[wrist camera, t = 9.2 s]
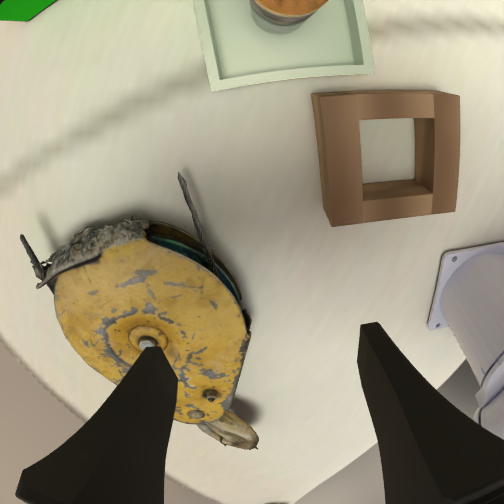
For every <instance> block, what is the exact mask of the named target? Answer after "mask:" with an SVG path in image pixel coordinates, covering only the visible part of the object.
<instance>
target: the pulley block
mask: <svg viewBox="0 0 504 504" xmlns="http://www.w3.org/2000/svg"><path fill="white" fill-rule="evenodd" d="M178 179H179V182H180V185H181V188H182V190H183V193H184V197H185V200H186V203H187V205H188V207H189V209H190V211H191V213H192V218H193V222H194V225H195V231H196V234H197V237H198V239H199V240H198V239H197V238H195V237H193V236H191V235H190V234H188V233H186V232H185V231H183V230H180V229H178V228H175V227H172V226H170V225H167V224H165V223H159V222H151V221H148V220H144V219H139V220H133V216H130V217H129V218H128V219H124V220H125V221H119V222H118V223H117V224H115V225H110V226H107V225H104V226H103V228H94V227H90V228H85V230H84V231H83V232H82V233H78V234H75V236H74V238H73V239H72V241H71V242H70V243H68V244H66V245H64V246H62V247H61V248H60V249H59V251H57V252H55V253H54V254H52V255H51V256H50V258H49V259H48V260H46V262H44V261H43V262H41V263H40V262H39V261H38V259H37V257H36V256H35V254H34V252H33V250H32V249H31V247H30V246H29V244H28V242H27V241H26V239H25V237H24V235H22V234H21V235H20V239H21V241H22V243H23V245H24V247H25V249H26V252H27V254H28V256H29V257H30V259H31V261H30V262H31V263H32V264H33V266H32V267H33V269H34V272H35V274H36V277H37V278H39V279H41V280H42V282H41V283H38V284H37V286H36V288H37V289H39V288H41V287H42V286H44V285H45V284H47V286H48V287H49V288H50V290H51V291H52V293H53V294H54V303H55V311H56V316H57V319H58V321H59V324H60V326H61V328H62V330H63V332H64V335H65V337H66V339H67V340H68V341H69V343H70V344H71V346H72V347H73V348H74V350H75V351H76V352H77V353H78V354H79V355H80V356H81V357H82V358H83V359H84V361H85V362H86V363H87V364H88V365H89V366H90V367H92V368H93V369H94V370H96V371H97V372H99V373H100V374H101V375H103V376H104V377H106V378H107V379H108V380H110V381H111V382H113V383H114V384H116V385H117V386H118V384H119V383H120V382H121V380H122V379H123V378H124V376H125V375H126V373H127V372H128V371H129V369H130V368H131V367H132V365H133V364H134V362H135V361H136V360H137V358H138V357H139V356H140V354H141V353H142V352H143V350H144V349H145V348H146V347H152V346H161V348H162V350H163V352H164V354H165V356H166V357H167V359H168V361H169V363H170V365H171V367H172V368H173V370H174V372H175V374H176V376H177V377H178V391H177V403H176V408H175V413H174V418H173V420H176V421H179V422H182V423H186V424H196V425H197V426H198V427H199V428H200V429H201V430H202V431H203V432H205V433H206V434H208V435H209V436H211V437H213V438H215V439H216V440H218V441H220V442H221V443H222V444H224V446H226V445H230V446H234V447H237V448H241V449H249V450H251V449H253V448H256V449H258V448H257V447H256V446H257V444H258V442H259V437H258V435H257V433H256V432H255V431H254V430H253V428H252V427H251V426H249V425H248V424H247V423H246V422H245V421H243V420H242V419H240V418H239V417H238V416H236V415H235V414H233V413H232V412H230V411H229V410H228V408H229V407H230V406H231V405H232V403H233V399H234V396H235V392H236V388H237V384H238V381H239V377H240V374H241V370H242V366H243V363H244V359H245V356H246V352H247V349H248V345H249V342H250V338H251V332H250V331H249V329H250V325H251V322H252V319H251V318H250V316H249V314H248V312H247V311H246V309H245V310H242V309H241V303H240V300H241V299H242V298H241V293H240V289H239V286H238V284H237V281H236V279H235V278H234V276H233V275H232V273H231V271H230V270H229V268H228V267H227V266H226V264H225V263H224V262H223V261H222V260H221V259H220V258H219V257H218V256H217V255H216V254H215V252H213V251H212V250H211V249H210V248H209V246H208V243H207V240H206V238H205V235H204V233H203V230H202V227H201V224H200V221H199V218H198V216H197V213H196V210H195V208H194V205H193V203H192V200H191V198H190V195H189V192H188V189H187V185H186V181H185V180H184V178H183V177H182V176H181V174H180V173H179V172H178ZM47 262H52V264H48V263H47ZM44 263H46V264H47V265H46V266H43V265H42V264H44ZM258 450H259V449H258Z"/></svg>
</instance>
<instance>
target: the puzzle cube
mask: <svg viewBox="0 0 504 504" xmlns="http://www.w3.org/2000/svg"><path fill="white" fill-rule="evenodd" d="M55 1H56V0H0V20H5V21H26V22H27V21H29V20H30V19H31V18H33V17H34V16H35V15H37V14H38V13H39V12H41V11H42V10H43V9H45V8H46V7H47V6H49V5H50V4H52V3H53V2H55Z"/></svg>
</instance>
